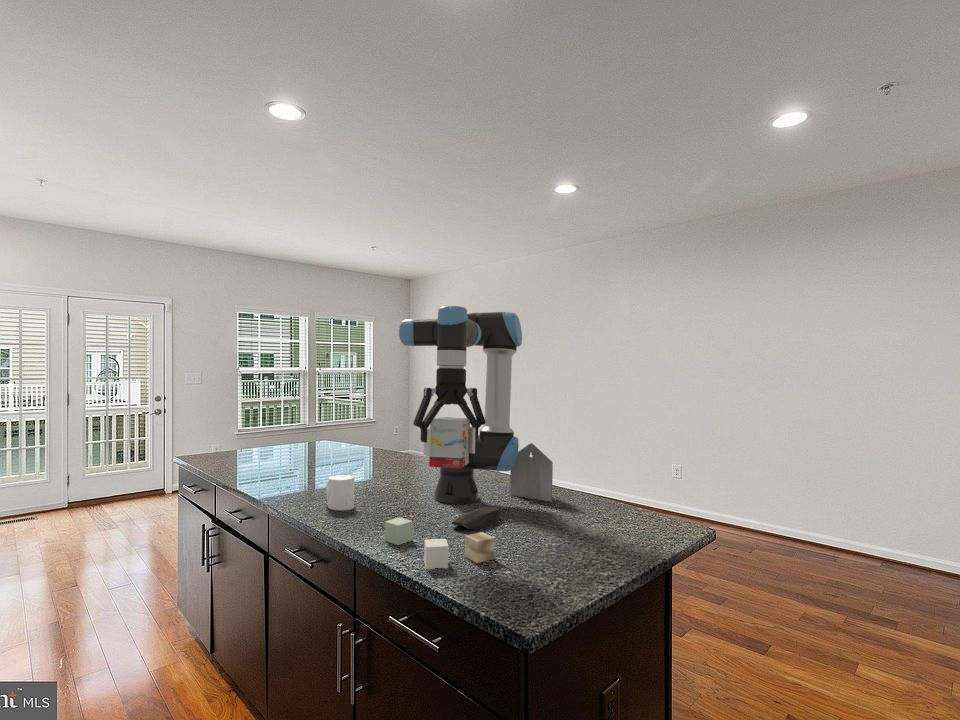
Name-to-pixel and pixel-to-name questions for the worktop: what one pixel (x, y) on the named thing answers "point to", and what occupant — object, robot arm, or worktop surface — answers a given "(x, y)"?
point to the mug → (340, 492)
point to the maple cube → (479, 547)
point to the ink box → (449, 442)
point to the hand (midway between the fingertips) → (449, 454)
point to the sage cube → (398, 531)
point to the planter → (532, 475)
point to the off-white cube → (436, 553)
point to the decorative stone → (478, 518)
